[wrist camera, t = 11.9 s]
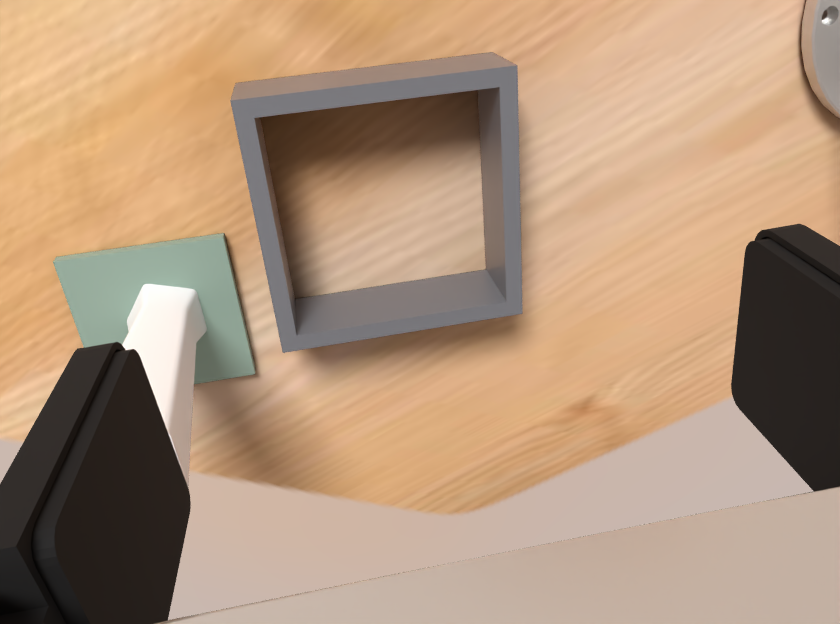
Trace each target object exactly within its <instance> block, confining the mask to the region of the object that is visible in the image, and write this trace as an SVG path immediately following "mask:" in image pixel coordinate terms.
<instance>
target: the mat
mask: <svg viewBox="0 0 840 624" xmlns="http://www.w3.org/2000/svg"><path fill="white" fill-rule="evenodd" d="M53 263H54V266H55V269H56V271H57V274H58V277H59V280H60V282H61V285H62V288H63V291H64V294H65V296H66V299H67V302H68V305H69V307H70V310H71V313H72V316H73V318H74V321H75V324H76V327H77V329H78V332H79V335H80V338H81V341H82V343H83V346H84V348H85V347H91V346H96V345H102V344H108V343H114V342H119V343H121V344H123V342H124V340H125V338H126V336H127V334H128V333H129V331H128V326H127V319H128V316H129V314H130V312H131V310H132V308H133V306H134V303H135V301H136V299H137V297H138V295H139V293H140V290H141V288H142V287H143V285H145V284H156V285H165V286H173V287H182V288H190V289H194V290H195V291H196V292H197V294H198V298H199V302H200V305H201V309H202V313H203V316H204V320H205V324H206V327H207V330H206V332H205V333H204V335H203V336H202V337H201V338H200V339H199V340H198V341H197V343H196V356H195V374H194V384H199V383H205V382H211V381H217V380H223V379H229V378H235V377H241V376H247V375H253V374H255V364H254V360H253V356H252V351H251V347H250V343H249V338H248V334H247V330H246V325H245V321H244V317H243V313H242V308H241V304H240V300H239V295H238V291H237V287H236V282H235V278H234V274H233V269H232V265H231V261H230V257H229V252H228V248H227V244H226V239H225V235H224V233H221V234H214V235H207V236H200V237H193V238H186V239H179V240H172V241H165V242H158V243H151V244H144V245H137V246H130V247H123V248H116V249H109V250H102V251H95V252H88V253H81V254H74V255H67V256H60V257H56V258H55V260H54V261H53Z"/></svg>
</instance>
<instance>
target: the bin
mask: <svg viewBox="0 0 840 624" xmlns="http://www.w3.org/2000/svg"><path fill="white" fill-rule="evenodd" d="M472 90H478V108H479V129H480V151H481V172H482V194H483V215H484V237H485V258H486V270H479V271H473V272H466V273H460V274H454V275H447V276H441V277H434V278H428V279H421V280H415V281H409V282H402V283H396V284H389V285H383V286H376V287H370V288H363V289H357V290H351V291H344V292H338V293H331V294H325V295H318V296H312V297H306V298H299V299H295V297H294V292H293V287H292V282H291V276H290V271H289V266H288V261H287V255H286V250H285V245H284V240H283V234H282V229H281V224H280V219H279V213H278V208H277V203H276V198H275V192H274V187H273V182H272V177H271V171H270V166H269V161H268V156H267V150H266V145H265V140H264V135H263V129H262V124H261V119H260V117H266V116H274V115H282V114H290V113H298V112H306V111H314V110H322V109H329V108H337V107H345V106H353V105H361V104H369V103H377V102H385V101H393V100H401V99H409V98H417V97H425V96H433V95H441V94H449V93H457V92H464V91H472ZM230 101H231V106H232V110H233V115H234V120H235V125H236V130H237V135H238V139H239V144H240V149H241V154H242V159H243V163H244V168H245V173H246V178H247V183H248V187H249V192H250V197H251V202H252V207H253V212H254V216H255V221H256V226H257V231H258V236H259V240H260V245H261V250H262V255H263V260H264V264H265V269H266V274H267V279H268V284H269V288H270V293H271V298H272V303H273V308H274V313H275V317H276V322H277V327H278V332H279V337H280V341H281V346H282V351H283V353H285V352H291V351H297V350H303V349H309V348H315V347H321V346H328V345H334V344H340V343H346V342H352V341H358V340H364V339H370V338H377V337H383V336H389V335H395V334H401V333H407V332H413V331H419V330H425V329H432V328H438V327H444V326H450V325H456V324H462V323H468V322H474V321H480V320H487V319H493V318H499V317H505V316H511V315H517V314H522V269H521V221H520V172H519V123H518V75H517V65H516V64H514V63H512V62H510V61H508V60H506V59H504V58H503V57H501V56H499V55H497V54H495V53H493V52H490V53H481V54H473V55H465V56H456V57H448V58H440V59H431V60H423V61H415V62H406V63H398V64H390V65H381V66H373V67H365V68H356V69H348V70H340V71H331V72H323V73H315V74H306V75H298V76H290V77H281V78H273V79H265V80H257V81H248V82H240V83H235V86H234V90H233V93H232V97H231V100H230Z"/></svg>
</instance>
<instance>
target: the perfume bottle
mask: <svg viewBox="0 0 840 624" xmlns="http://www.w3.org/2000/svg"><path fill="white" fill-rule="evenodd" d="M127 326H128V331H129V333H128V334H127V336H126V338H125V340H124V342H123V344H122V346H123V347H124V348H125V350H130V349H135V350H136V351H137V352H138V354H139V356H140V358H141V361H142V363H143V366H144V369H145V371H146V374H147V377H148V380H149V382H150V385H151V388H152V390H153V393H154V396H155V399H156V401H157V404H158V407H159V410H160V412H161V415H162V418H163V420H164V423H165V426H166V429H167V431H168V434H169V437H170V439H171V442H172V445H173V448H174V450H175V453H176V456H177V458H178V461H179V464H180V467H181V469H182V472H183V475H184V477H185V480H186V483H187V486H188V482H189V464H190V446H191V428H192V410H193V392H194V374H195V356H196V343H197V341H198V340H199V339H200V338H201V337H202V336H203V335H204V333H205V332H206V330H207V327H206V324H205V320H204V316H203V313H202V309H201V305H200V302H199V298H198V294H197V292H196V291H195V290H194V289H190V288H182V287H173V286H165V285H156V284H145V285H143V287H142V288H141V290H140V293H139V295H138V297H137V299H136V301H135V303H134V306H133V308H132V310H131V312H130V314H129V316H128V319H127Z"/></svg>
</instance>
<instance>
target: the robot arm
mask: <svg viewBox="0 0 840 624" xmlns="http://www.w3.org/2000/svg"><path fill="white" fill-rule="evenodd" d="M801 48H802V55H803V62H804V68H805V72H806V74H807V77H808V80H809V82H810V85H811V88H812V90H813V91H814V93H815V94H816V96H817V97H818V99H819V100H820V102H821V103H822V105H824V106H825V107H826V108H827V109H828V110H829V111H830V112H832V113H833V114H834V115H835V116H836V117H838V118H840V0H806V5H805V10H804V15H803V21H802V42H801ZM731 389H732V395H733V398H734V401H735V403H736V405H737V406H738V408H739V409H740V410H741V411H742V412H743V413H744V415H745V416H746V417H747V418H748V419H749V420H750V421H751V422H752V423H753V425H754V426H755V427H756V428H757V429H758V430H759V431H760V432H761V433H762V435H763V436H764V437H765V438H766V439H767V440H768V441H769V442H770V443H771V444H772V445H773V447H774V448H775V449H776V450H777V451H778V452H779V453H780V454H781V455H782V457H783V458H784V459H785V460H786V461H787V462H788V463H789V464H790V465H791V467H793V469H794V470H795V471H796V472H797V473H798V474H799V475H800V477H801V478H802V479H803V480H804V481H805V482H806V483H807V484H808V485H809V486H810V488H811V489H812V490H813V491H814V492H809V493H804V494H798V495H793V496H788V497H783V498H778V499H773V500H767V501H763V502H757V503H752V504H747V505H742V506H737V507H732V508H727V509H721V510H716V511H711V512H706V513H700V514H695V515H691V516H685V517H680V518H675V519H670V520H665V521H659V522H655V523H649V524H644V525H639V526H634V527H629V528H624V529H619V530H614V531H609V532H604V533H599V534H593V535H588V536H583V537H578V538H573V539H568V540H563V541H558V542H553V543H548V544H543V545H539V546H533V547H528V548H524V549H518V550H513V551H508V552H503V553H498V554H493V555H488V556H483V557H478V558H473V559H468V560H463V561H458V562H453V563H448V564H443V565H438V566H433V567H428V568H423V569H418V570H413V571H408V572H403V573H398V574H394V575H389V576H383V577H378V578H374V579H369V580H364V581H360V582H354V583H350V584H344V585H340V586H335V587H330V588H325V589H320V590H315V591H310V592H305V593H300V594H295V595H291V596H285V597H280V598H276V599H271V600H266V601H261V602H256V603H251V604H246V605H241V606H236V607H231V608H226V609H221V610H216V611H211V612H207V613H202V614H197V615H192V616H187V617H182V618H177V619H172V620H168V616H169V611H170V606H171V601H172V597H173V592H174V586H175V582H176V577H177V572H178V568H179V563H180V557H181V553H182V548H183V543H184V538H185V534H186V528H187V524H188V518H189V514H190V494H189V489H188V486H187V483H186V480H185V477H184V475H183V472H182V469H181V467H180V464H179V461H178V458H177V456H176V453H175V450H174V448H173V445H172V442H171V439H170V437H169V434H168V431H167V429H166V426H165V423H164V420H163V418H162V415H161V412H160V410H159V407H158V404H157V401H156V399H155V396H154V393H153V390H152V388H151V385H150V382H149V380H148V377H147V374H146V371H145V369H144V366H143V363H142V361H141V358H140V356H139V354H138V352H137V351H136V350H135V349H130V350H125V348H124V347H123V346H122V344H121V343H119V342H114V343H108V344H102V345H96V346H91V347H85V348H79V349H77V350H76V351H75V352H74V354H73V355H72V357H71V359H70V361H69V363H68V364H67V366H66V368H65V370H64V371H63V373H62V375H61V377H60V379H59V380H58V382H57V384H56V386H55V387H54V389H53V391H52V393H51V395H50V396H49V398H48V400H47V402H46V404H45V405H44V407H43V409H42V411H41V412H40V414H39V416H38V418H37V420H36V421H35V423H34V425H33V427H32V428H31V430H30V432H29V434H28V436H27V437H26V439H25V441H24V443H23V445H22V446H21V448H20V450H19V452H18V453H17V455H16V457H15V459H14V461H13V462H12V464H11V466H10V468H9V470H8V471H7V473H6V475H5V477H4V478H3V480H2V482H1V484H0V624H840V246H839V245H837V244H835V243H834V242H832V241H830V240H828V239H827V238H825V237H823V236H822V235H820V234H818V233H817V232H815V231H813V230H811V229H810V228H808V227H806V226H805V225H802V224H795V225H790V226H784V227H778V228H772V229H767V230H762V231H760V232H759V233H758V234H757V236H756V238H755V241H751V242H750V243H749V244H748V245H747V247H746V250H745V257H744V267H743V276H742V286H741V296H740V306H739V315H738V325H737V335H736V344H735V354H734V364H733V373H732V383H731Z"/></svg>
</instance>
